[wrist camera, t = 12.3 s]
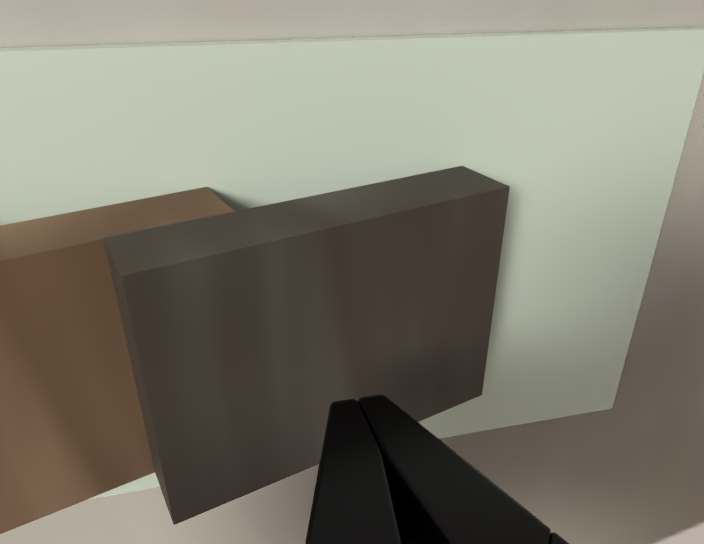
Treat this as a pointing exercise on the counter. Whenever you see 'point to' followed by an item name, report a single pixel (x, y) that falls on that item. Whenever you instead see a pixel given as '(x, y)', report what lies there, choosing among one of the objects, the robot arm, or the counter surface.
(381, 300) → the tile
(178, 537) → the counter surface
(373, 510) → the robot arm
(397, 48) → the runner mat
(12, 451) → the brown wooden block
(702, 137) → the counter surface
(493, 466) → the counter surface
